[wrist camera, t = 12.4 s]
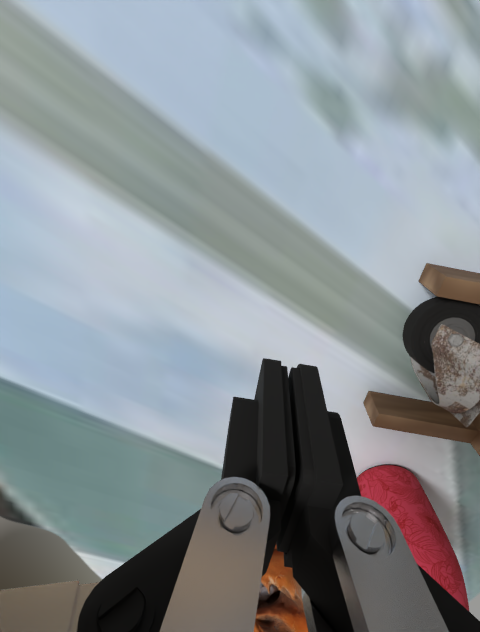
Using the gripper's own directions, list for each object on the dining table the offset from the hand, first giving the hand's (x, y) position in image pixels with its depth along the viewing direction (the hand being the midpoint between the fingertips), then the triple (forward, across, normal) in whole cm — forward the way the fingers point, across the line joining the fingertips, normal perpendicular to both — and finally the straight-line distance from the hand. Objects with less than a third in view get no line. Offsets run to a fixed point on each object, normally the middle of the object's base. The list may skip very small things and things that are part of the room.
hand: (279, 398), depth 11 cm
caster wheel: (+26, -21, +10) cm, 35 cm away
